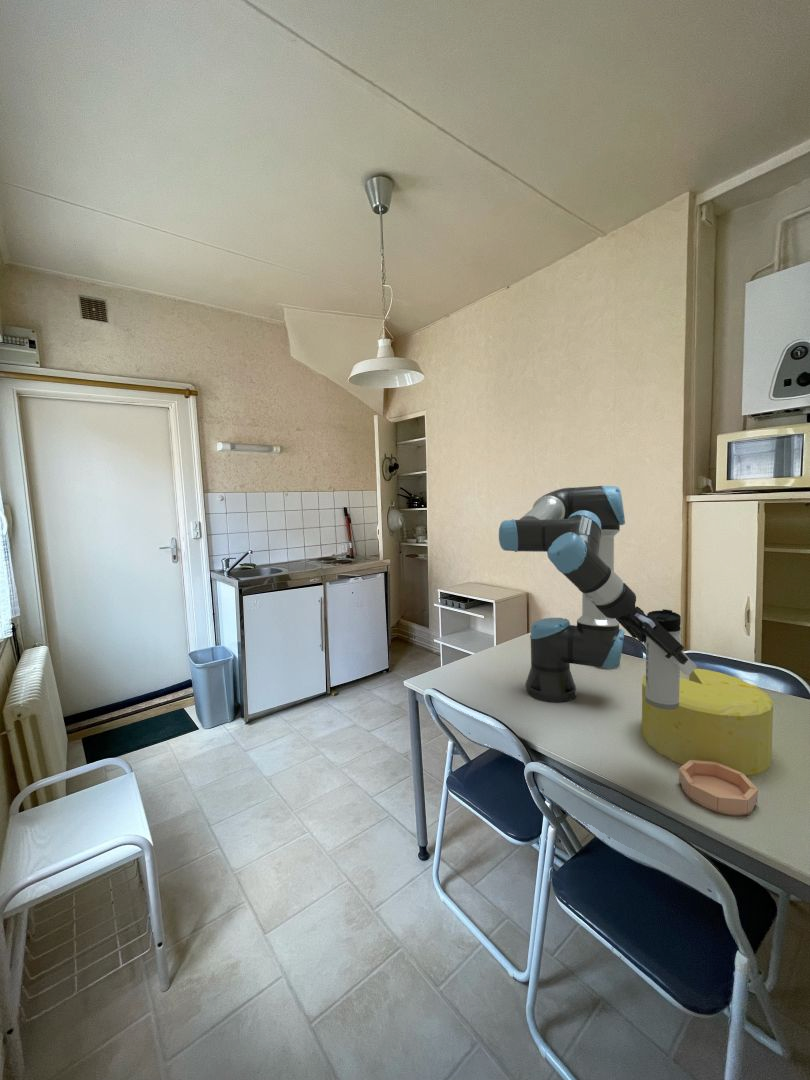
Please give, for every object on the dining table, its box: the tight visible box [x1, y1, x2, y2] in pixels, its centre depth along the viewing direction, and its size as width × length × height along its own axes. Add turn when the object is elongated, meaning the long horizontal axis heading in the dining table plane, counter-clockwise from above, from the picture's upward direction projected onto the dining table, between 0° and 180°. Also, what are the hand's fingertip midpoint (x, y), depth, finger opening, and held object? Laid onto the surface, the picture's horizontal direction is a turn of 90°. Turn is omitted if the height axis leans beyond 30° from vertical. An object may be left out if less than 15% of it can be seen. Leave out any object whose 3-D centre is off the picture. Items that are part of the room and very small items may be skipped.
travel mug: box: [645, 608, 682, 710], centre depth 92 cm, size 6×7×20 cm
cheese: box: [641, 667, 774, 777], centre depth 105 cm, size 26×26×15 cm
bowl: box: [678, 760, 759, 817], centre depth 87 cm, size 12×12×3 cm
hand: (678, 664), depth 92 cm, fingers closed on travel mug, 6 cm apart
